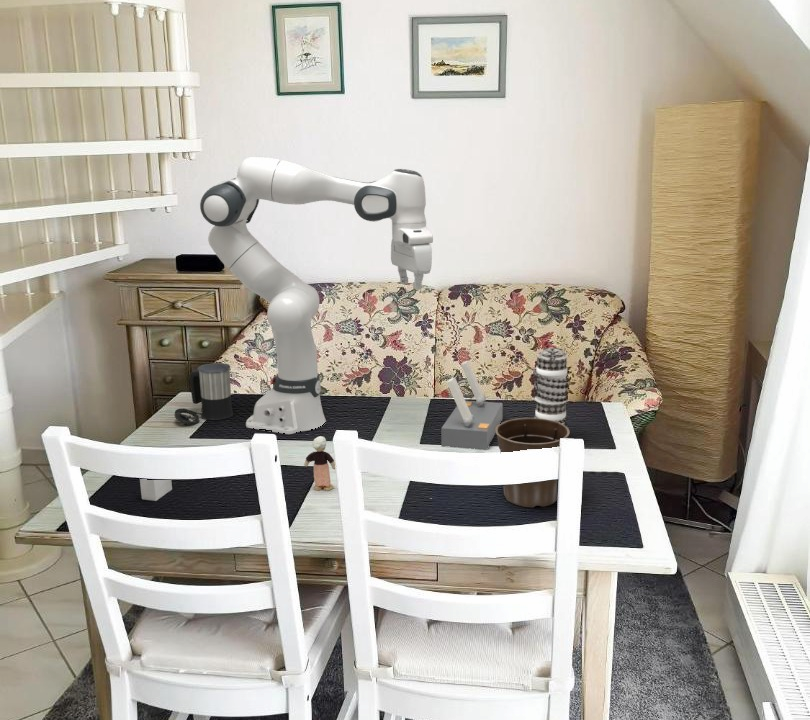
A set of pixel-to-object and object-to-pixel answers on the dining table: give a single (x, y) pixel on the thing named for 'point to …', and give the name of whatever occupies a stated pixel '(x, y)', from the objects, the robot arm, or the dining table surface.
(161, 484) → the light grey rectangular block
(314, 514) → the dining table surface
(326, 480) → the grandmother figurine
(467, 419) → the switch lever
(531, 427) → the plant pot
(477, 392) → the switch lever
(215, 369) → the milk frother
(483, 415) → the switch unit
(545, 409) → the decorative candle
